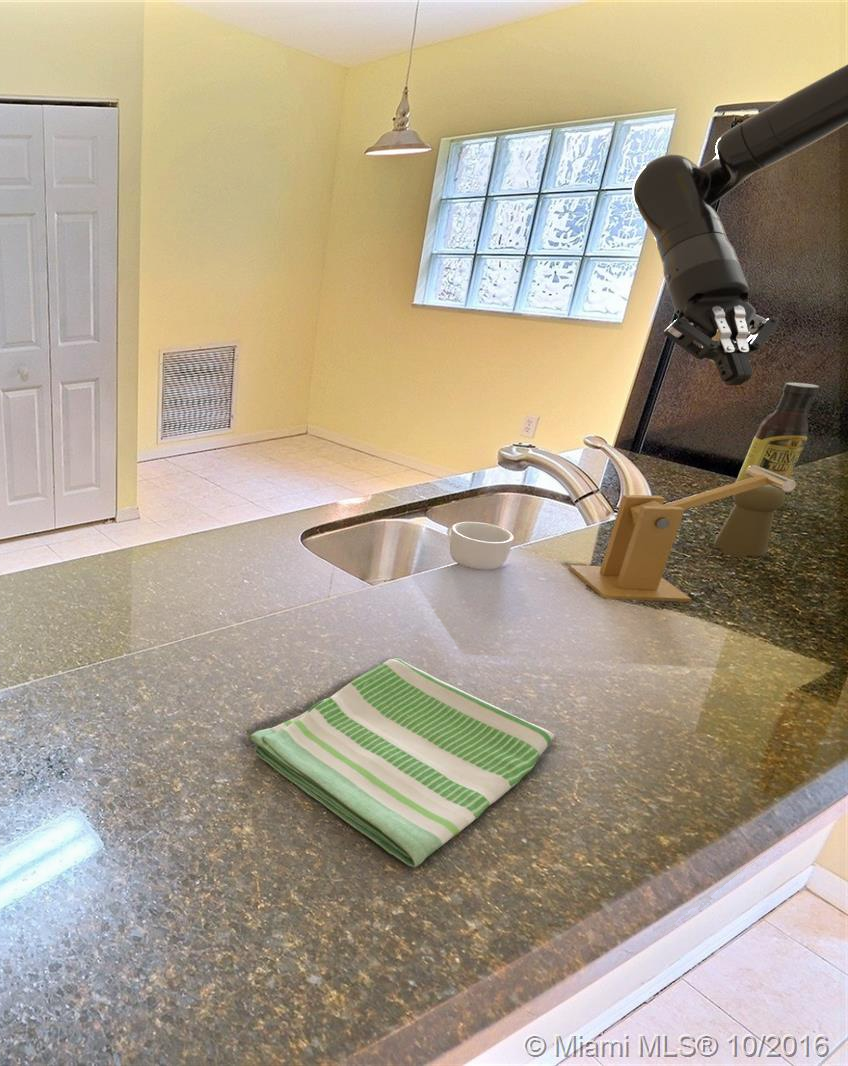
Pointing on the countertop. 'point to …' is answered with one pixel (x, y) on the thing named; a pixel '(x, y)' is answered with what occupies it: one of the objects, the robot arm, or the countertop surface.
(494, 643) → the countertop surface
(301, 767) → the dish towel
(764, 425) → the sauce bottle
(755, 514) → the cork
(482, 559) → the teacup
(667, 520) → the bracket
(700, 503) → the tap lever
